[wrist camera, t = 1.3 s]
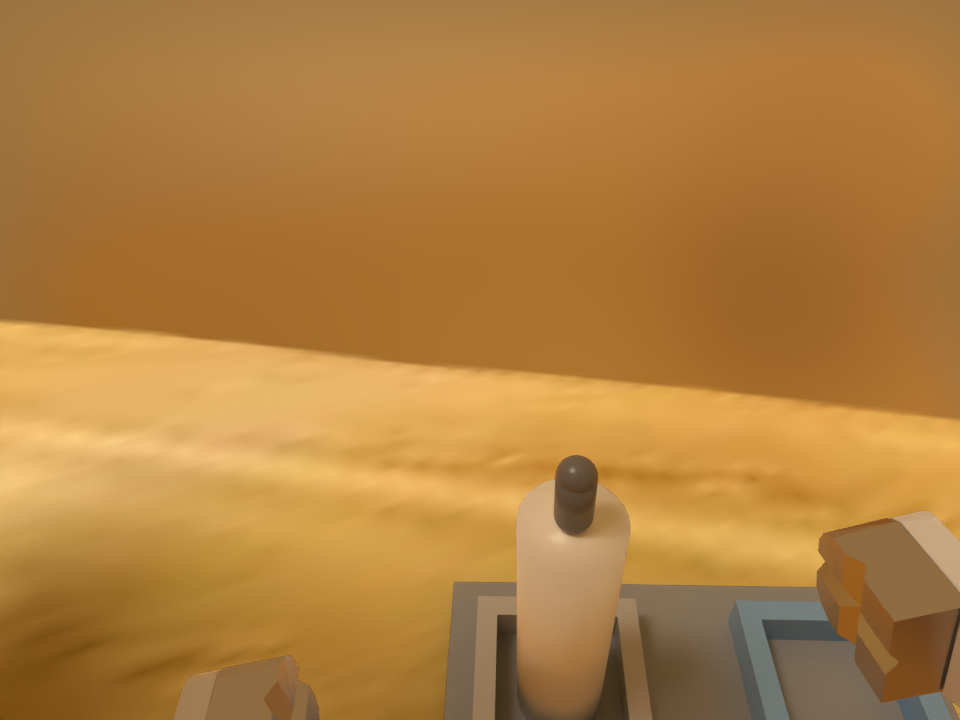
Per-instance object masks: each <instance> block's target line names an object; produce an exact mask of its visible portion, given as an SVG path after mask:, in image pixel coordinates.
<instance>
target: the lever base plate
mask: <svg viewBox="0 0 960 720" xmlns="http://www.w3.org/2000/svg"><path fill="white" fill-rule="evenodd" d="M855 648H856V645H855V644H854V643H852V642H850V641H849V640H847V639H845V638H843V637H842V636H840V635H838V634H837V633H836V631H835V630H834V628H833V626H832V625H831V623H830V621H829V620H828V618H827V616H826V614H825V611H824V609H823V607H822V605H821V601H820V597H819V594H818V590H817V587H762V586H699V585H635V584H621V588H620V593H619V599H618V604H617V610H616V616H615V621H614V627H613V632H612V638H611V644H610V649H609V655H608V660H607V666H606V672H605V677H604V683H603V688H602V694H601V700H600V705H599V710H598V713H597V715H596V718H595V719H594V720H959V718H958V715H957V713H956V711H955V709H954V707H953V704H952V702H951V701H950V700H949V699H947V698H946V697H944V696H943V695H942V692H943V691H942V692H936V693H931V694H926V695H921V696H915V697H910V698H905V699H899V700H894V701H889V702H884V703H881V702H880V700H879V699H878V697H877V696H876V694H875V693H874V691H873V690H872V688H871V686H870V685H869V683H868V682H867V680H866V679H865V677H864V675H863V674H862V672H861V671H860V669H859V668H858V666H857V665H856V663H855V661H854V658H855ZM444 720H526V719H525V718H524V716H523V714H522V712H521V710H520V707H519V704H518V699H517V583H509V582H454V588H453V602H452V615H451V628H450V641H449V655H448V668H447V681H446V694H445V707H444Z"/></svg>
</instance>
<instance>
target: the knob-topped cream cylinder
mask: <svg viewBox="0 0 960 720" xmlns="http://www.w3.org/2000/svg"><path fill="white" fill-rule="evenodd" d="M629 537H630V520H629V516H628V514H627V511H626V509H625V507H624V505H623V504H622V503H621V501H620V500H619V499H618V498H617V497H616V496H615V495H614V494H613V493H612V492H611V491H609V490H608V489H606V488H605V487H603V486H601V485H599V484H598V472H597V469H596V467H595V465H594V464H593V463H592V461H590V460H589V459H588V458H586V457H583V456H579V455H574V456H569V457H567V458H565V459H564V460H563V461H562V462H561V463H560V464H559V466H558V467H557V470H556V475H555V479H554V480H550V481H547V482H544V483H542V484H540V485H538V486H537V487H535V488H534V489H532V490H531V491H530V492H529V493H528V494H527V495H526V496H525V498H524V499H523V501H522V502H521V504H520V506H519V509H518V512H517V519H516V562H517V699H518V704H519V707H520V710H521V712H522V714H523V716H524V718H525V719H526V720H594V719H595V718H596V715H597V713H598V710H599V705H600V700H601V694H602V688H603V683H604V677H605V672H606V666H607V660H608V655H609V649H610V644H611V638H612V632H613V627H614V621H615V616H616V610H617V604H618V599H619V593H620V588H621V582H622V576H623V571H624V565H625V560H626V554H627V548H628V543H629Z"/></svg>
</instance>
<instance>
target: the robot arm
mask: <svg viewBox="0 0 960 720" xmlns="http://www.w3.org/2000/svg"><path fill="white" fill-rule="evenodd" d="M818 551H819V553H820V554H821V556H822V557H823V559H824V560H825V563H824V564H823V565H822V566H821V567H820V568H819V570H818V571H817V590H818V594H819V597H820V601H821V605H822V607H823V609H824V611H825V614H826V616H827V618H828V620H829V621H830V623H831V625H832V626H833V628H834V630H835V631H836V633H837V634H838V635H840V636H842V637H843V638H845V639H847V640H849V641H850V642H852V643H854V644H855V645H856V648H855V658H854V661H855V663H856V665H857V666H858V668H859V669H860V671H861V672H862V674H863V675H864V677H865V679H866V680H867V682H868V683H869V685H870V686H871V688H872V690H873V691H874V693H875V694H876V696H877V697H878V699H879V700H880V702H881V703H884V702H889V701H894V700H899V699H905V698H910V697H915V696H921V695H926V694H931V693H936V692H942V691H943V692H942V695H943V696H944V697H946V698H947V699H949V700H950V701H952V702H953V703H954V704H956V705H957V706H959V707H960V541H959V540H958V539H957V538H956V537H955V536H954V535H953V534H952V533H951V532H950V531H949V530H948V529H947V527H946V526H945V525H944V524H943V523H942V522H941V521H940V520H939V519H938V518H937V517H936V516H935V515H934V514H932V513H930V512H928V511H926V510H925V511H919V512H915V513H910V514H906V515H902V516H897V517H893V518H890V519H888V518H885V519H881V520H877V521H872V522H868V523H864V524H860V525H856V526H852V527H848V528H843V529H839V530H835V531H831V532H827V533H823V535H822V536H821V538H820V539H819V549H818ZM298 672H299V667H298V665H297V664H296V662H295V661H294V659H293V658H292V656H291V655H289V656H284V657H279V658H273V659H268V660H263V661H258V662H253V663H248V664H243V665H238V666H233V667H228V668H223V669H218V670H213V671H209V672H204V673H200V674H195V675H190V677H189V678H188V680H187V681H186V683H185V684H184V686H183V687H182V691H181V694H180V697H179V701H178V704H177V708H176V711H175V714H174V718H173V720H320V719H319V708H318V705H317V702H316V698H315V695H314V693H313V691H312V689H311V688H310V686H309V685H308V684H305V683H303V682H301V681H299V680H298Z"/></svg>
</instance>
